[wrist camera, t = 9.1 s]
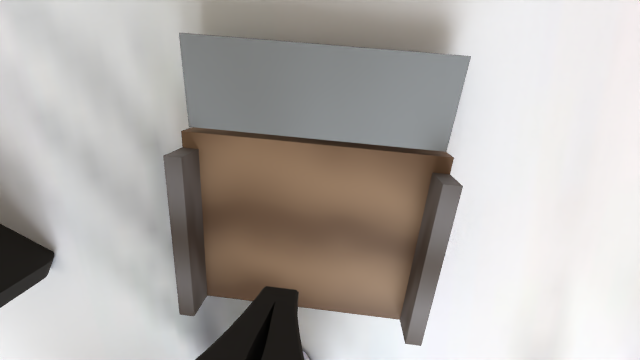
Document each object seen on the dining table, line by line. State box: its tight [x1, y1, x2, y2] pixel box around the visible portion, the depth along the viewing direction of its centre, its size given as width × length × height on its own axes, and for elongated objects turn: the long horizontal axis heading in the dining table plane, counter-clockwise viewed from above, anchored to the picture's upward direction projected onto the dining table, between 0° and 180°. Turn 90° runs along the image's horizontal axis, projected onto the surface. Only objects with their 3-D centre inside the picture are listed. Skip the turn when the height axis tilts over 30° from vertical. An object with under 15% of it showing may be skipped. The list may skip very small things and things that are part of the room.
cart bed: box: [164, 127, 463, 346], centre depth 19 cm, size 12×16×4 cm
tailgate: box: [179, 33, 471, 152], centre depth 17 cm, size 1×15×5 cm
